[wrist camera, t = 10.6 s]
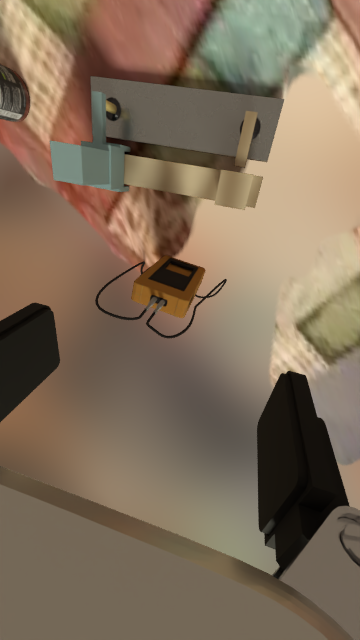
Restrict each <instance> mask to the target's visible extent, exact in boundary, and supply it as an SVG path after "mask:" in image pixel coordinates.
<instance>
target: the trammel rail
mask: <svg viewBox="0 0 360 640" xmlns="http://www.w3.org/2000/svg"><path fill="white" fill-rule="evenodd" d="M257 114H258V112H252V111H246V113H245V118H244V122H243V127H242V132H241V136H240V141H239V145H238V150H237V155H236V159H235V164H234V166H238V167H244V168H245V165H246V161H247V157H248V152H249V148H250V144H251V140H252V135H253V131H254V127H255V123H256V118H257ZM262 179H263V177H259V176H254V175H252V174H246V173H240V172H233V171H227V170H217V169H211V168H205V167H199V166H193V165H187V164H181V163H175V162H169V161H163V160H157V159H150V158H144V157H138V156H132V155H126V154H124V184H127V185H132V186H138V187H143V188H149V189H154V190H160V191H165V192H171V193H176V194H182V195H187V196H193V197H198V198H204V199H209V200H215V205H221V206H225V207H231V208H237V209H242V210H245V207H246V206H248V207H253V208H255V205H256V202H257V198H258V194H259V191H260V187H261V183H262Z"/></svg>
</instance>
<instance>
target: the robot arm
mask: <svg viewBox="0 0 360 640" xmlns="http://www.w3.org/2000/svg"><path fill="white" fill-rule="evenodd" d="M59 363H60V357H59V350H58V342H57V335H56V328H55V320H54V314H53V312H52V311H51V309H50V307H49V306H46V305H42V304H39V303H32V304H30V305H28V306H27V307H25V308H23V309H21V310H19V311H17V312H16V313H14V314H12V315H10V316H9V317H7V318H5V319H3V320H1V321H0V422H1V421H2V420H3V419H4V418H5V417H6V416H7V415H8V414H9V413H10V412H11V411H12V410H14V408H15V407H17V406H18V405H19V404H20V403H21V402H22V401H23V400H24V399H25V398H26V397H27V396H28V395H29V394H30V393H31V392H32V391H33V390H34V389H35V388H36V387H37V386H38V385H40V383H42V382H43V380H45V379H46V378H47V377H48V376H49V375H50V374H51V373H52V372H53V371H54V370H55V369H56V368H57V367H58V365H59ZM257 444H258V445H257V449H258V509H259V510H258V512H259V529H260V531H261V532H263V533H265V546H268V547H271V548H273V549H276V561H277V563H278V564H279V567H278V568H277V570H276V571H275V572H274V573H273V575H270V574H268V573H266V572H264V571H262V570H259V569H257V568H255V567H253V566H251V565H249V564H247V563H245V562H243V561H240V560H238V559H236V558H234V557H231V556H229V555H226V554H224V553H222V552H219V551H217V550H214V549H212V548H209V547H207V546H204V545H202V544H199V543H197V542H195V541H192V540H190V539H187V538H185V537H182V536H180V535H178V534H175V533H172V532H170V531H167V530H165V529H162V528H160V527H157V526H154V525H152V524H149V523H147V522H144V521H142V520H139V519H136V518H134V517H131V516H129V515H126V514H124V513H121V512H118V511H116V510H113V509H111V508H108V507H106V506H103V505H100V504H98V503H95V502H93V501H90V500H88V499H85V498H82V497H80V496H77V495H75V494H72V493H69V492H67V491H64V490H61V489H59V488H56V487H54V486H51V485H48V484H45V483H43V482H41V481H38V480H35V479H33V478H30V477H27V476H25V475H22V474H20V473H17V472H14V471H12V470H9V469H7V468H4V467H1V466H0V640H360V510H358V509H356V508H353V507H350V506H349V503H348V499H347V496H346V493H345V489H344V486H343V482H342V479H341V476H340V472H339V469H338V465H337V462H336V459H335V455H334V452H333V448H332V445H331V442H330V438H329V435H328V431H327V428H326V425H325V423H324V421H323V420H322V419H321V418H318V417H317V414H316V411H315V407H314V403H313V400H312V396H311V392H310V389H309V385H308V381H307V378H306V376H305V375H303V374H299V373H295V372H291V371H288V372H287V373H286V374H284V373H282V374H281V375H280V377H279V379H278V381H277V383H276V385H275V387H274V389H273V391H272V394H271V396H270V398H269V400H268V402H267V404H266V406H265V409H264V411H263V413H262V415H261V417H260V419H259V422H258V426H257Z"/></svg>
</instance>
